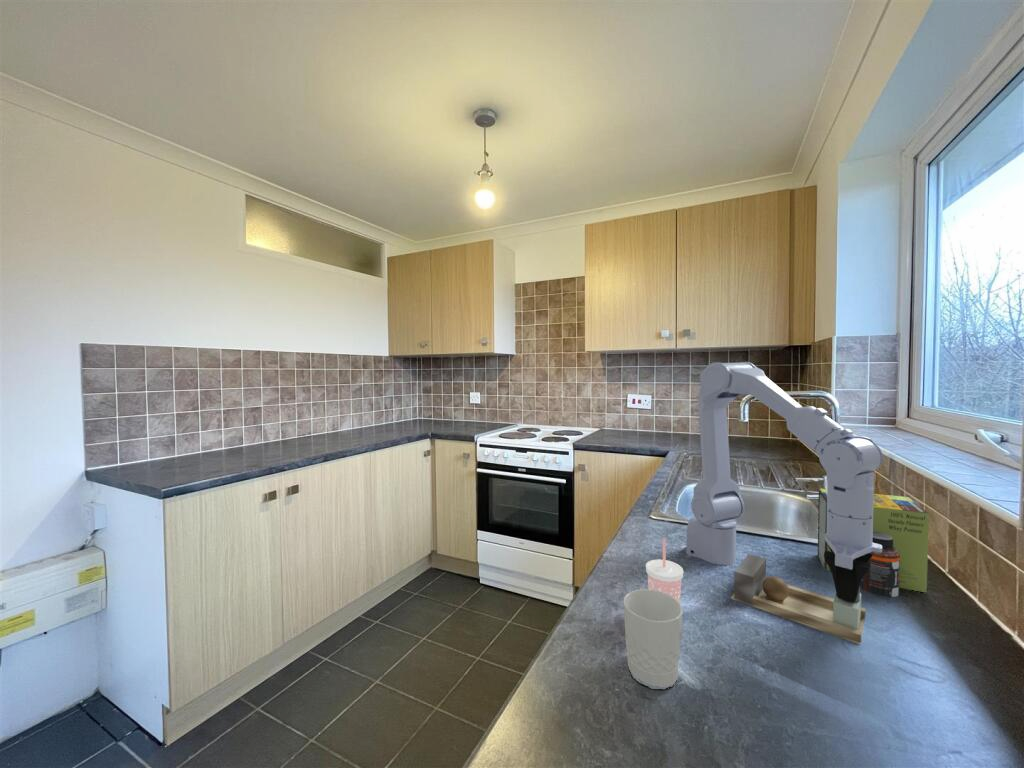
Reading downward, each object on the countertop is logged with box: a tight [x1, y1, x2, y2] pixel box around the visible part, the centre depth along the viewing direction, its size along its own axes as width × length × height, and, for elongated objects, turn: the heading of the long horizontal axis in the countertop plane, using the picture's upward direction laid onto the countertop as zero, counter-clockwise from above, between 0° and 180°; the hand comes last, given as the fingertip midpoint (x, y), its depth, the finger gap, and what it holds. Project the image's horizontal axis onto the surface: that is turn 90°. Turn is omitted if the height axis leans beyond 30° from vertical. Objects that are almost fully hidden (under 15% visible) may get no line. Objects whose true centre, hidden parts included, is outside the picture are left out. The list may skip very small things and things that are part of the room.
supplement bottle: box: [860, 531, 900, 598], centre depth 76 cm, size 6×6×11 cm
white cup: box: [623, 588, 683, 687], centre depth 58 cm, size 8×8×10 cm
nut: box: [762, 575, 789, 604], centre depth 73 cm, size 4×4×4 cm
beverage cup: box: [645, 538, 684, 604], centre depth 70 cm, size 6×6×14 cm
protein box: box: [817, 488, 930, 592], centre depth 84 cm, size 10×15×16 cm
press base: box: [730, 553, 867, 645], centre depth 71 cm, size 18×10×6 cm, turn 46°
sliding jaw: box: [833, 586, 862, 630], centre depth 66 cm, size 3×6×8 cm, turn 136°
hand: (847, 595), depth 66 cm, fingers closed on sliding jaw, 3 cm apart
